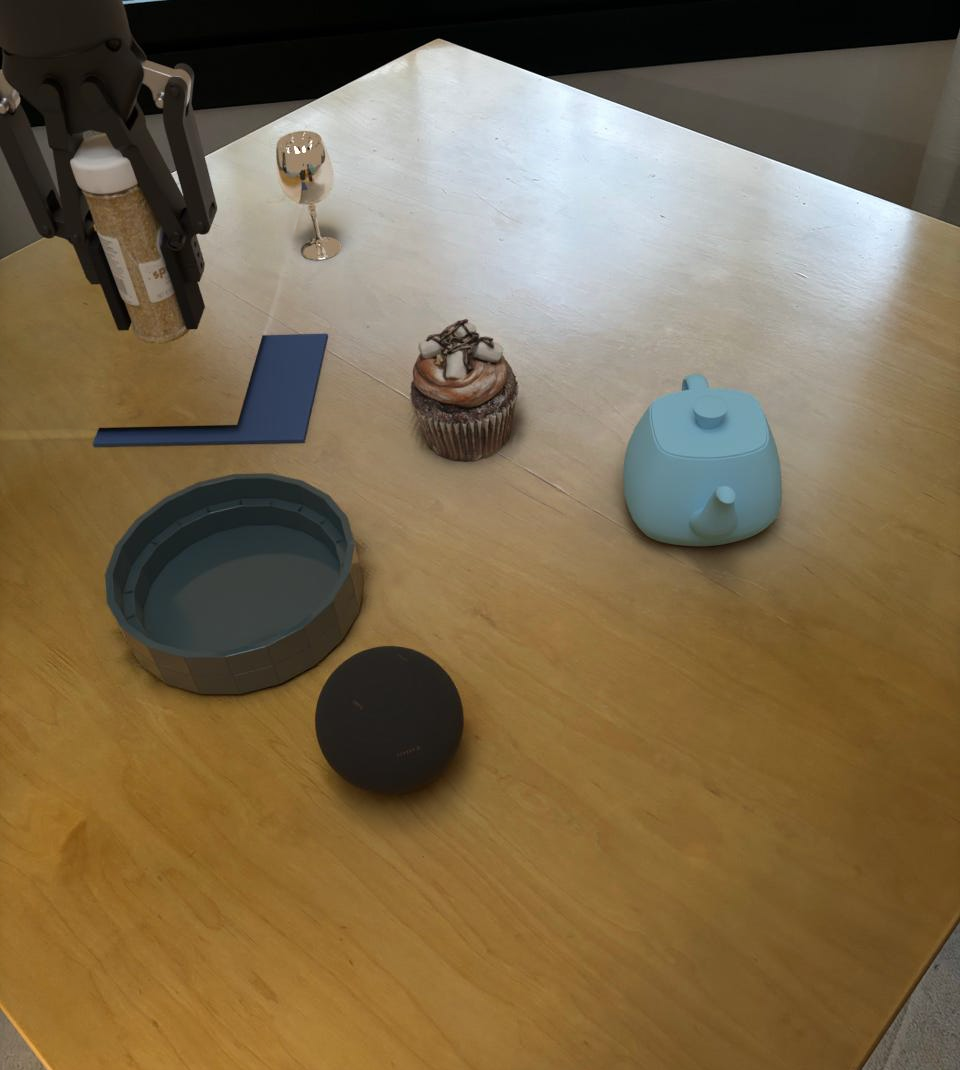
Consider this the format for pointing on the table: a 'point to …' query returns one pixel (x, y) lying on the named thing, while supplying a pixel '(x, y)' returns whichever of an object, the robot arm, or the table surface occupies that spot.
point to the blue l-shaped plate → (251, 401)
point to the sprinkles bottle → (129, 239)
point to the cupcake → (463, 393)
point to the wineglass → (307, 183)
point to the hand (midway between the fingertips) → (161, 317)
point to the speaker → (389, 720)
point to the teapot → (702, 467)
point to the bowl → (235, 583)
